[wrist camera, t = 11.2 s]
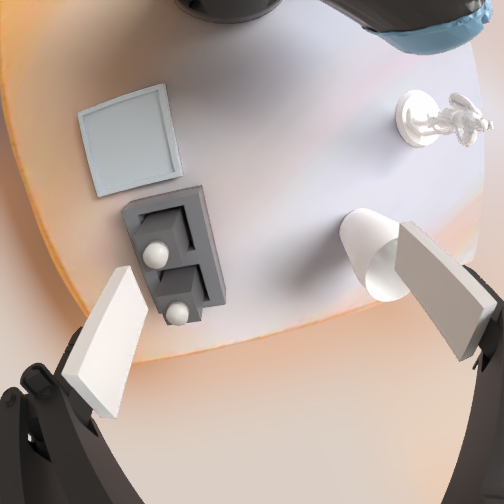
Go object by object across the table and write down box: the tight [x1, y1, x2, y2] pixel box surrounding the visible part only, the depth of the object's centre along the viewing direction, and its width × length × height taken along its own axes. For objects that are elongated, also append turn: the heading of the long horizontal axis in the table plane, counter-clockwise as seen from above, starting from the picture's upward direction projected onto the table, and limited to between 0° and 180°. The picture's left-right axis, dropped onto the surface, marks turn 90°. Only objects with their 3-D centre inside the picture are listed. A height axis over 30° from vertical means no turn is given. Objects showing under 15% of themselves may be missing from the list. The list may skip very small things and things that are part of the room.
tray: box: [77, 83, 183, 197], centre depth 32 cm, size 12×12×2 cm
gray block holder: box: [121, 185, 226, 314], centre depth 35 cm, size 16×10×10 cm, turn 9°
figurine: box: [396, 90, 493, 148], centre depth 26 cm, size 9×9×15 cm
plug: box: [156, 264, 205, 326], centre depth 37 cm, size 4×4×10 cm
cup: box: [339, 208, 411, 301], centre depth 35 cm, size 9×9×12 cm
